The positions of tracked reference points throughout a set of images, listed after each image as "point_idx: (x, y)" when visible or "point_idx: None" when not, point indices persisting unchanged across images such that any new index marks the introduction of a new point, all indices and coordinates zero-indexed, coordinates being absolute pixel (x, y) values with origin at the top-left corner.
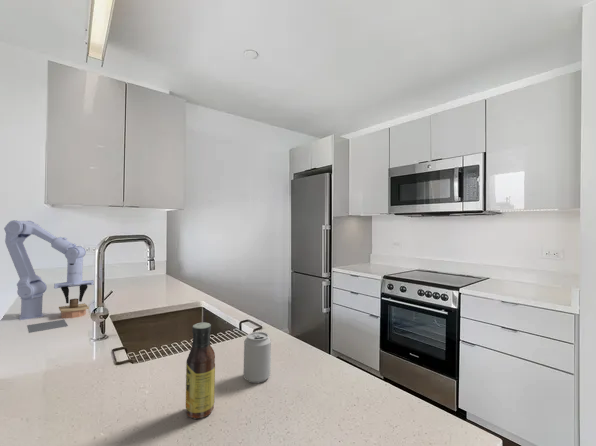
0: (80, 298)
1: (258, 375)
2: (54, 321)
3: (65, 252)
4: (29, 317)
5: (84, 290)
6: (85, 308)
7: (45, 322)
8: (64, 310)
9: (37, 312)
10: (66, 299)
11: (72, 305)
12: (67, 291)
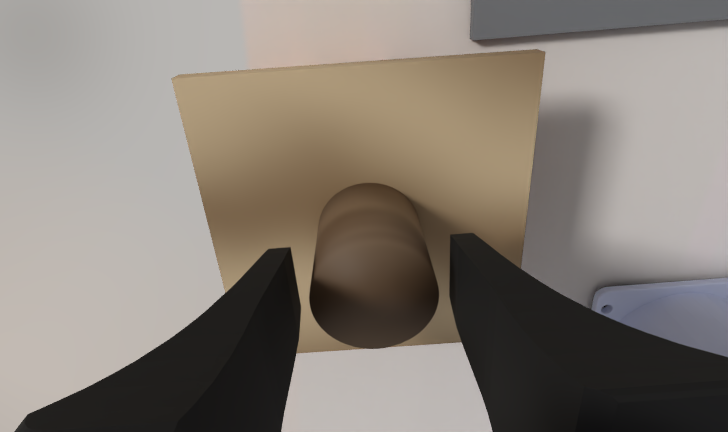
0: (274, 269)
1: None
2: (575, 3)
3: None
4: (708, 296)
5: (141, 374)
6: (221, 75)
7: (660, 16)
8: (499, 90)
9: (669, 333)
10: (506, 260)
11: (392, 202)
12: (584, 351)
